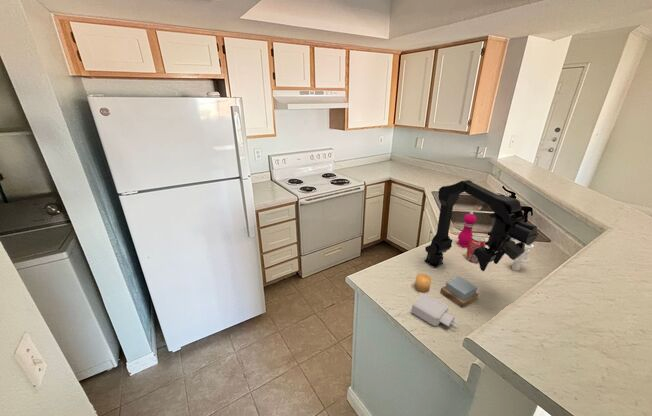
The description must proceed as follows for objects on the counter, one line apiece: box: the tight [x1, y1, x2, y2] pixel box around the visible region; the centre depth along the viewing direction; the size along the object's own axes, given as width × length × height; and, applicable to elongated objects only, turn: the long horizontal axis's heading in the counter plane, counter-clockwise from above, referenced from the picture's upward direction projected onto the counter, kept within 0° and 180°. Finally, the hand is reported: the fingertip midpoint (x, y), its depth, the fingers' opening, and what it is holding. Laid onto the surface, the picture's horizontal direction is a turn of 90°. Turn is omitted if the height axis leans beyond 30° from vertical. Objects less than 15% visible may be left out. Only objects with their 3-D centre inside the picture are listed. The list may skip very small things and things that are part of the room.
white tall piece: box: [511, 239, 534, 272], centre depth 124 cm, size 7×7×15 cm
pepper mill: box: [457, 211, 477, 249], centre depth 143 cm, size 7×7×20 cm
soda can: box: [465, 235, 486, 263], centre depth 131 cm, size 7×7×12 cm
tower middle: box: [445, 276, 478, 300], centre depth 107 cm, size 8×8×3 cm
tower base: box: [439, 285, 479, 309], centre depth 108 cm, size 10×10×3 cm
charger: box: [410, 293, 460, 328], centre depth 96 cm, size 5×9×15 cm
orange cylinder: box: [414, 273, 432, 294], centre depth 112 cm, size 6×6×5 cm
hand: (489, 267), depth 103 cm, fingers open, 9 cm apart
